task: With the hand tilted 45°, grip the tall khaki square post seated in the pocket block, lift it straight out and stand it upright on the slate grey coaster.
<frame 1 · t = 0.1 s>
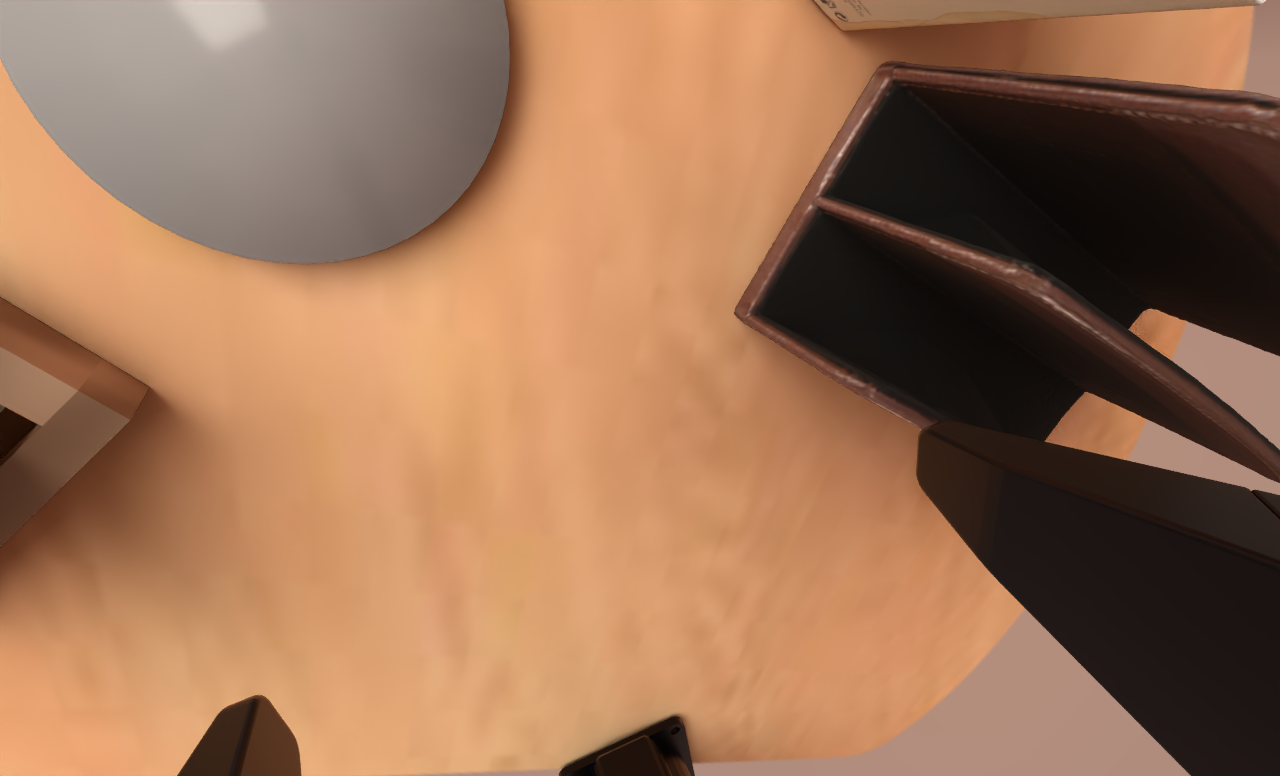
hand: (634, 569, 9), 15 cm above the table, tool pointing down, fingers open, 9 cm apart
coaster: (281, 36, 17), on the table
letter holder: (952, 296, 29), on the table
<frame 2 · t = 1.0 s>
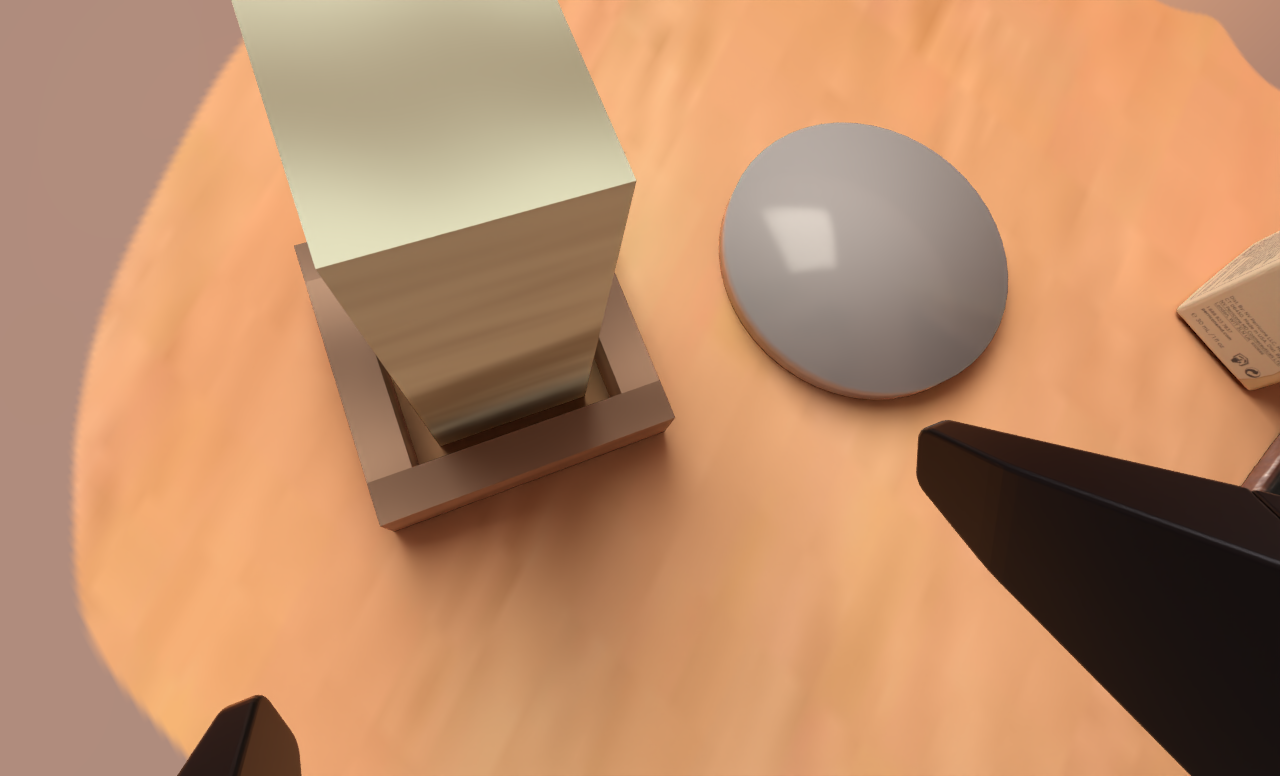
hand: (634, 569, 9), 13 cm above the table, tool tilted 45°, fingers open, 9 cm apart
coaster: (858, 261, 26), on the table
pocket block: (489, 352, 23), on the table
tall khaki square post: (489, 353, 23), resting in pocket block
skincare box: (1244, 313, 28), on the table
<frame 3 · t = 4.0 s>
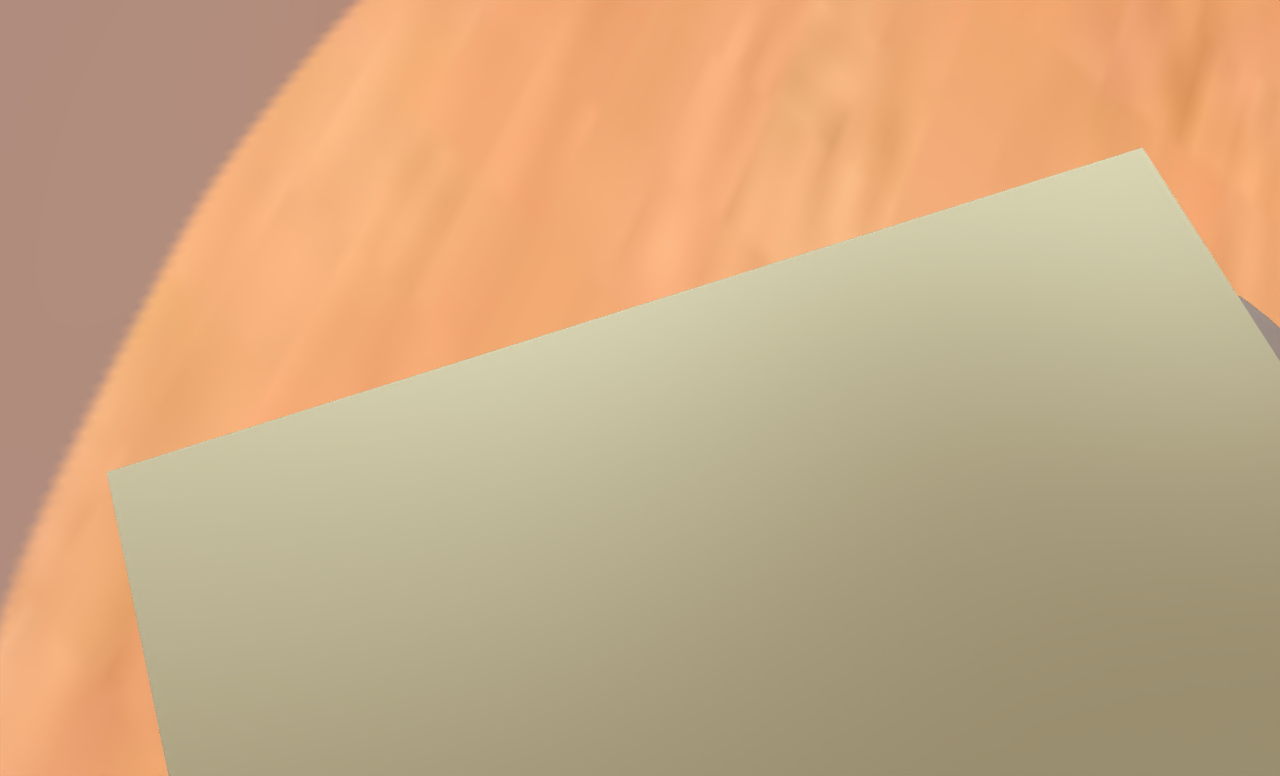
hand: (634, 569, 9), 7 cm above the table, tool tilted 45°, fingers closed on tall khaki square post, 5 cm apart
coaster: (1140, 463, 18), on the table
tall khaki square post: (618, 642, 15), resting in pocket block, touching gripper
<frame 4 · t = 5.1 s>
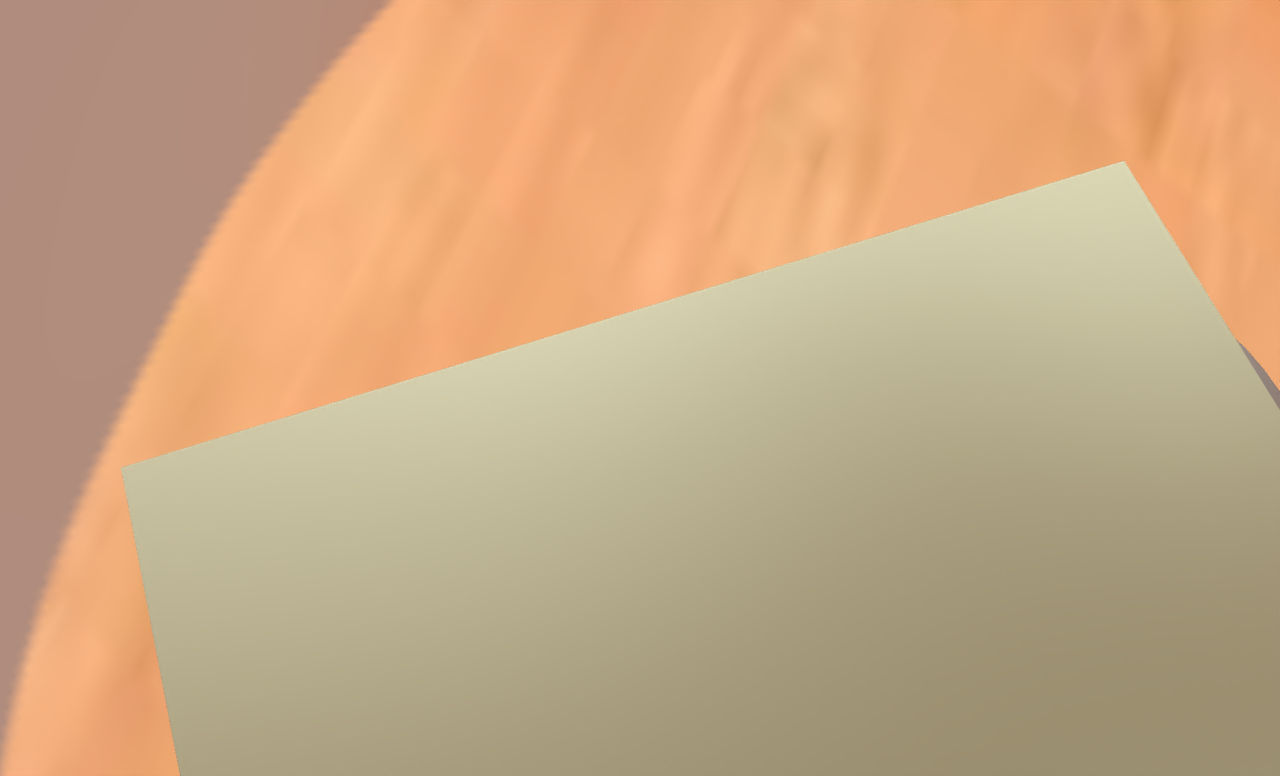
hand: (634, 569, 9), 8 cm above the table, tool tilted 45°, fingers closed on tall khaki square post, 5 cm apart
coaster: (1104, 468, 19), on the table
tall khaki square post: (621, 642, 15), point 1 cm above the table, touching gripper
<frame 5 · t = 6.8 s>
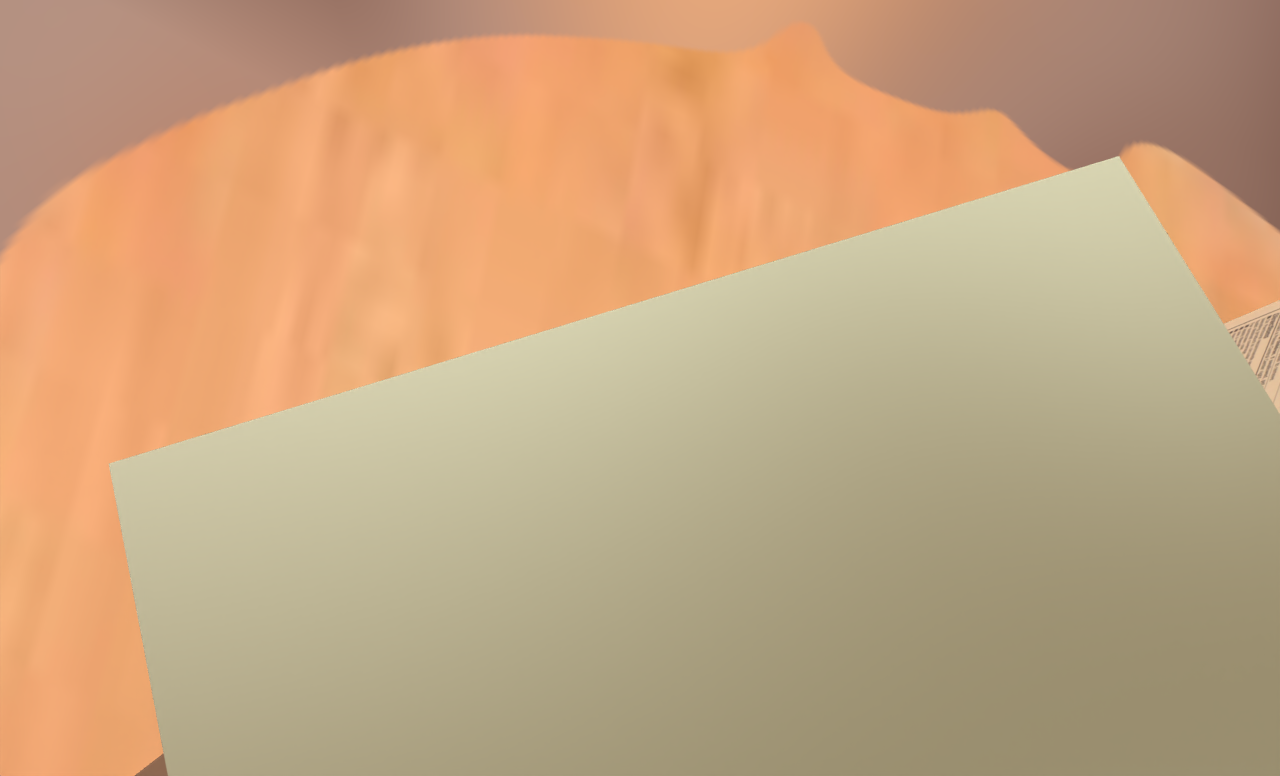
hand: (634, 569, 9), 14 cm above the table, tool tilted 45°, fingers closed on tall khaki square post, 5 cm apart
tall khaki square post: (620, 641, 15), point 7 cm above the table, touching gripper
skincare box: (1113, 461, 26), on the table
when the fingers open (9 cm above the table, at t = 8.5 s): tall khaki square post drops 1 cm, resting on coaster.
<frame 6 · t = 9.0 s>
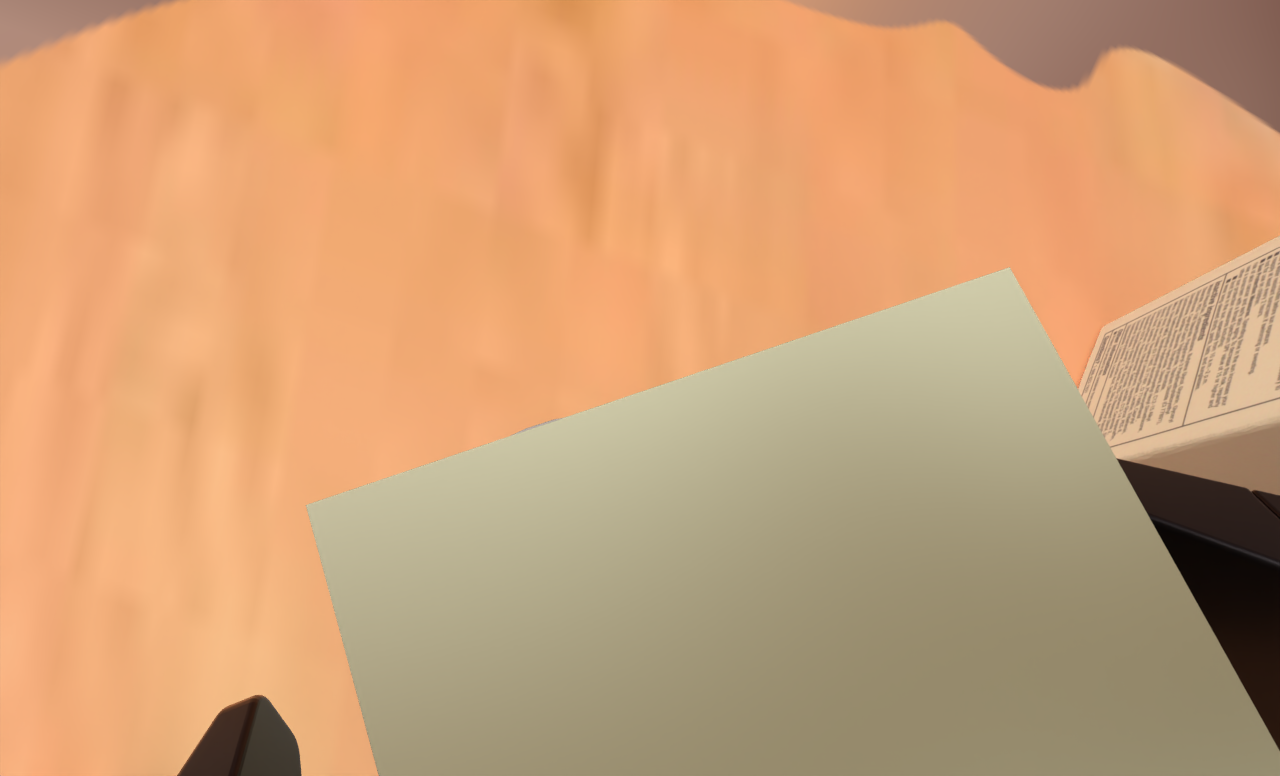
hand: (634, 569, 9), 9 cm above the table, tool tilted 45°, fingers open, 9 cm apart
tall khaki square post: (614, 639, 16), point 1 cm above the table, touching coaster
skincare box: (1125, 431, 21), on the table
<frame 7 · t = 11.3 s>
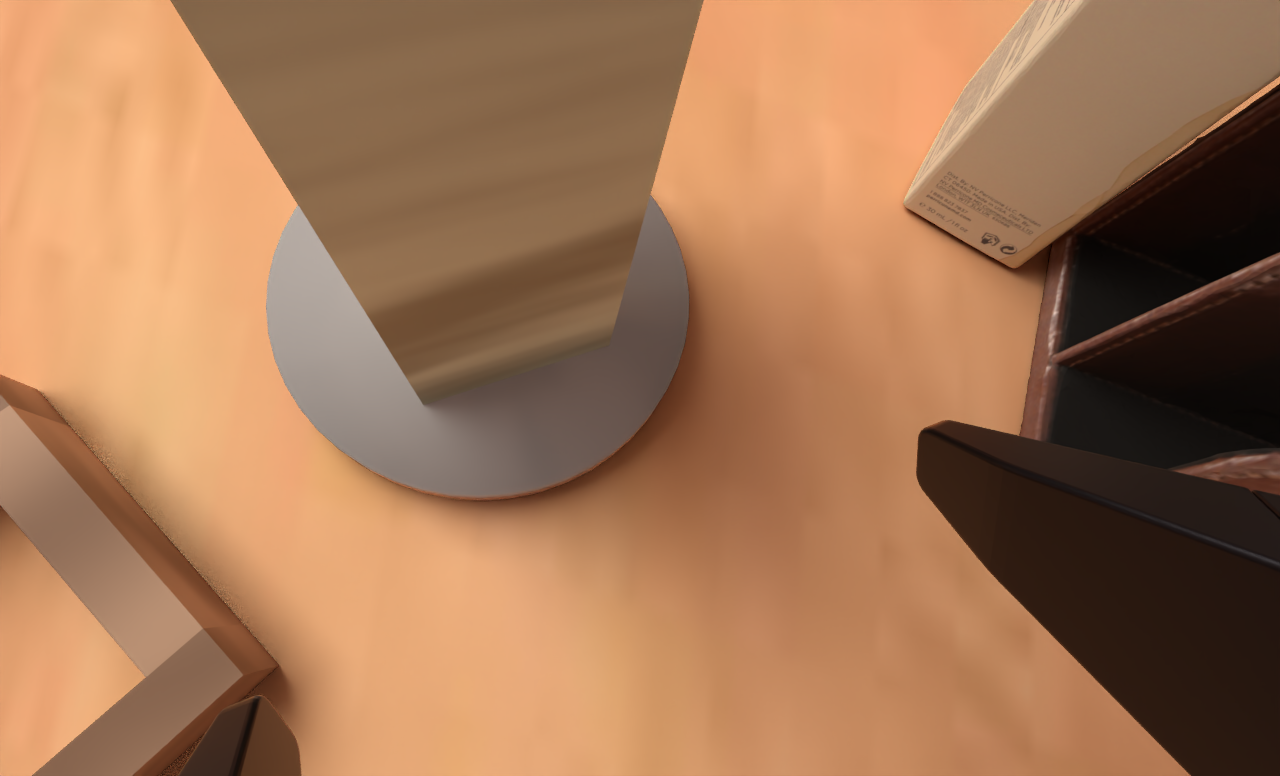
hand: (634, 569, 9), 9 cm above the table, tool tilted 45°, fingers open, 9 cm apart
coaster: (489, 303, 19), on the table
tall khaki square post: (488, 289, 18), point 1 cm above the table, touching coaster
skincare box: (981, 175, 23), on the table
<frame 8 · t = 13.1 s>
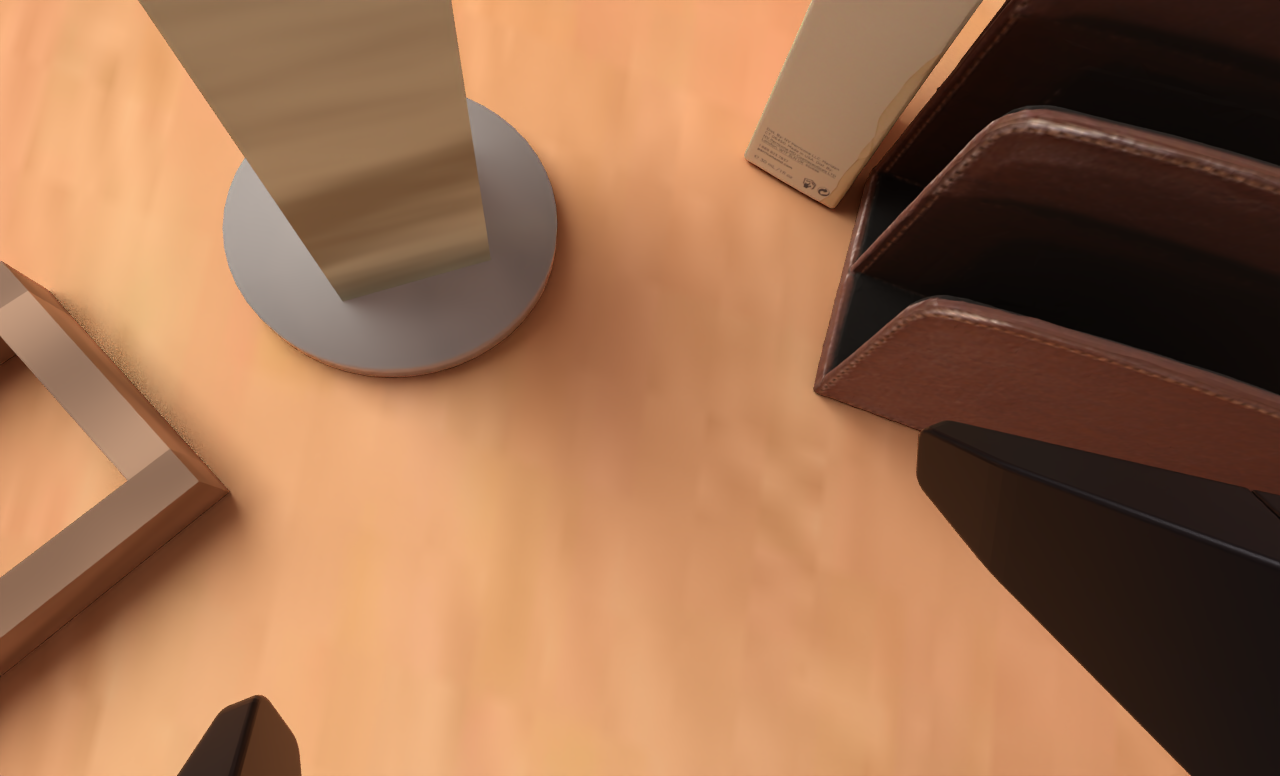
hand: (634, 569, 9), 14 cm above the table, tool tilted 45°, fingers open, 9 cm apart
coaster: (401, 230, 24), on the table
letter holder: (1066, 368, 27), on the table
tall khaki square post: (397, 217, 23), point 1 cm above the table, touching coaster
skincare box: (815, 135, 28), on the table
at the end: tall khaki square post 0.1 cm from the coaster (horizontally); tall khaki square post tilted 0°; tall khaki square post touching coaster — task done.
